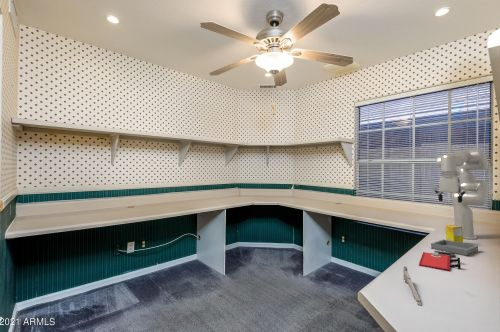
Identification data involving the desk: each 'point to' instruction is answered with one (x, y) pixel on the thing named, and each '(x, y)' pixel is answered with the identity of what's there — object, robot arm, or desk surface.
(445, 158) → the robot arm
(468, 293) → the desk surface
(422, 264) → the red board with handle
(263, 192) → the desk surface
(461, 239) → the supplement box
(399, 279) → the desk surface
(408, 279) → the caliper
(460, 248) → the tray
